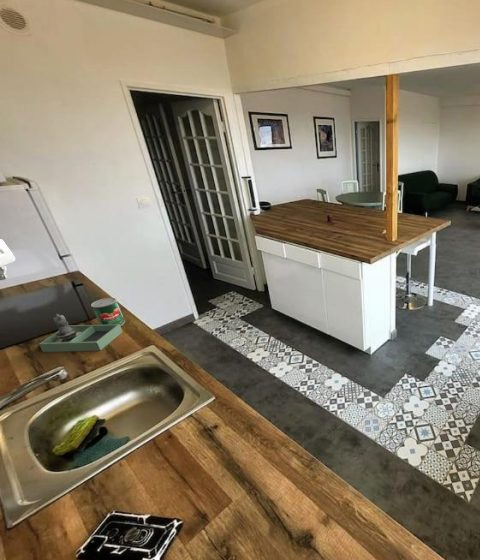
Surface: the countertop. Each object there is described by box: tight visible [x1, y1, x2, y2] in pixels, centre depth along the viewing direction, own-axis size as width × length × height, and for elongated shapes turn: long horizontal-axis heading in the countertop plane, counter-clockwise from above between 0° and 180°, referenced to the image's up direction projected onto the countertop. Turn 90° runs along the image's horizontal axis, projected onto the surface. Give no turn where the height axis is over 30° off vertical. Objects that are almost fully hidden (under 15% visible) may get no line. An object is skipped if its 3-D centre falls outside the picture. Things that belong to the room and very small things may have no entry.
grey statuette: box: [53, 313, 77, 342], centre depth 117 cm, size 6×6×12 cm
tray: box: [38, 324, 123, 353], centre depth 120 cm, size 12×20×4 cm, turn 95°
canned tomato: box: [90, 297, 126, 326], centre depth 129 cm, size 8×8×11 cm
